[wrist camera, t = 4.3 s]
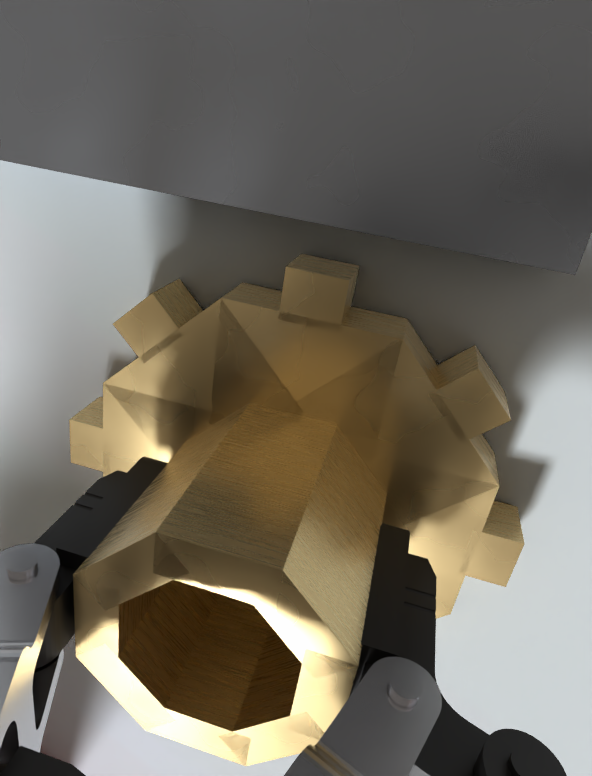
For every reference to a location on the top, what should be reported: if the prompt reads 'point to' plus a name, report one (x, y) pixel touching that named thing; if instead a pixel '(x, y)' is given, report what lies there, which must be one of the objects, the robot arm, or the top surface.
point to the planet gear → (276, 503)
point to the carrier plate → (321, 111)
